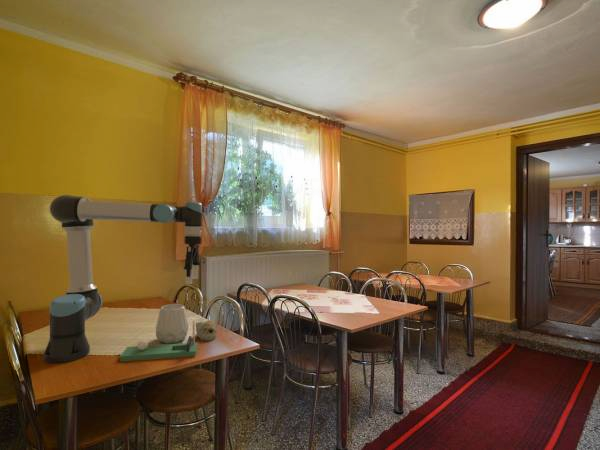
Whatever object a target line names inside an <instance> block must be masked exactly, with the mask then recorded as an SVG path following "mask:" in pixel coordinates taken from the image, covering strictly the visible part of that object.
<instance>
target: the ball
mask: <svg viewBox="0 0 600 450" xmlns="http://www.w3.org/2000/svg"><path fill="white" fill-rule="evenodd" d="M136 346H137V348H138V349H139V350H141V351H143V350H145V349H146V348H147V347H148V346H149V342H148V341H147V340H145V339H142V340H139V341H138V343H137V344H136Z"/></svg>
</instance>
